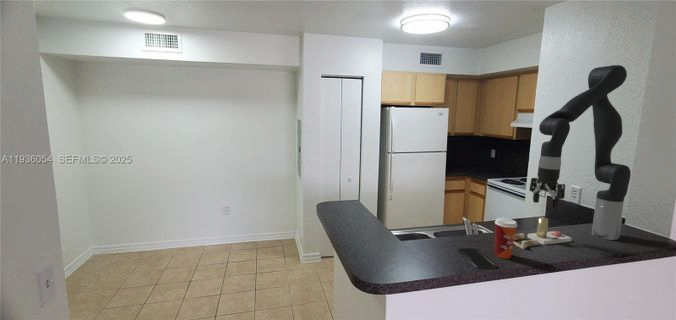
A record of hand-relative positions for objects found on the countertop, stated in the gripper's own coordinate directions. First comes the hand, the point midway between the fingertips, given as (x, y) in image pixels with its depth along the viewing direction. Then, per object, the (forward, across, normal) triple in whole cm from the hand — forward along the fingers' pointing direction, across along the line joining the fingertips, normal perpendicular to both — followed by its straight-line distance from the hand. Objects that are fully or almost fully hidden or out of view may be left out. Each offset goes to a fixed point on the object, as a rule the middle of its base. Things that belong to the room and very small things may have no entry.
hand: (544, 205), depth 131 cm
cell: (+14, 0, 0) cm, 14 cm away
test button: (+16, 0, -9) cm, 18 cm away
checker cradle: (+16, 0, -4) cm, 17 cm away
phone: (+18, -7, +37) cm, 42 cm away
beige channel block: (+17, 0, +9) cm, 19 cm away
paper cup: (+17, -7, +25) cm, 31 cm away
